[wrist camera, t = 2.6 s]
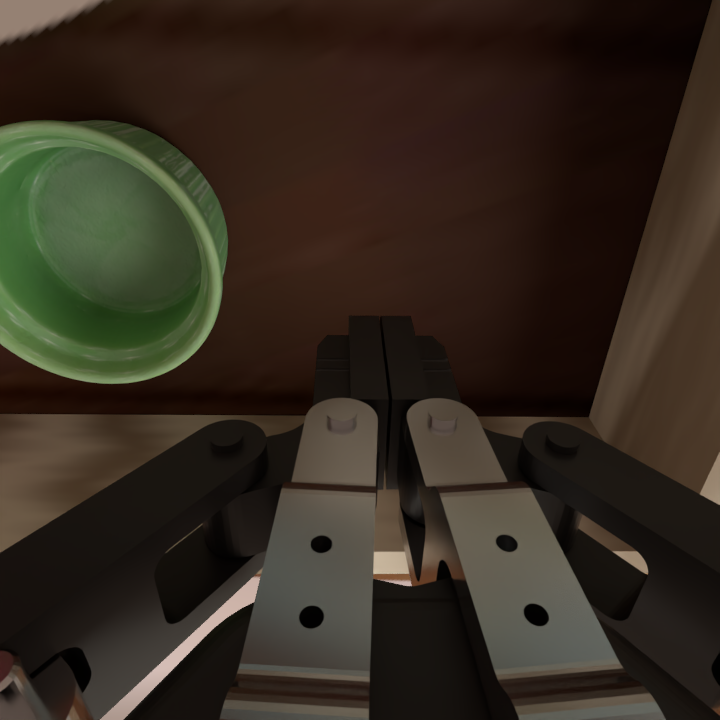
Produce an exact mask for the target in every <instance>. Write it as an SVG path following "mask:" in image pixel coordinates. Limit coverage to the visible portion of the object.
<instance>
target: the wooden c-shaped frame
mask: <svg viewBox="0 0 720 720" xmlns="http://www.w3.org/2000/svg"><path fill="white" fill-rule="evenodd" d="M305 418H306V416H284V415H101V414H0V552H2V551H4V550H5V549H7V548H8V547H10V546H12V545H13V544H15V543H17V542H18V541H20V540H21V539H23V538H25V537H26V536H28V535H30V534H31V533H33V532H34V531H36V530H38V529H39V528H41V527H43V526H44V525H46V524H47V523H49V522H51V521H52V520H54V519H55V518H57V517H59V516H60V515H62V514H64V513H65V512H67V511H68V510H70V509H72V508H73V507H75V506H77V505H78V504H80V503H81V502H83V501H85V500H86V499H88V498H90V497H91V496H93V495H94V494H96V493H98V492H99V491H101V490H102V489H104V488H106V487H107V486H109V485H111V484H112V483H114V482H115V481H117V480H119V479H120V478H122V477H124V476H125V475H127V474H128V473H130V472H132V471H133V470H135V469H137V468H138V467H140V466H141V465H143V464H145V463H146V462H148V461H149V460H151V459H153V458H154V457H156V456H158V455H159V454H161V453H162V452H164V451H166V450H167V449H169V448H171V447H172V446H174V445H175V444H177V443H179V442H180V441H182V440H184V439H185V438H187V437H188V436H190V435H192V434H193V433H195V432H196V431H198V430H200V429H201V428H203V427H205V426H207V425H209V424H212V423H215V422H218V421H223V420H232V419H234V420H245V421H248V422H252V423H254V424H256V425H257V426H259V427H260V428H261V429H262V430H263V431H264V433H265V435H266V437H268V436H272V435H277V434H281V433H285V432H288V431H290V430H293V429H295V428H297V427H299V426H300V425H302V424H303V423H304V422H305ZM478 419H479V422H480V424H481V426H482V427H483V428H485V429H487V430H490V431H493V432H496V433H500V434H504V435H509V436H514V437H518V438H522V437H523V433H524V431H525V430H526V428H528V427H529V426H530V425H532V424H534V423H538V422H543V421H556V422H562V423H566V424H570V425H573V426H575V427H578V428H580V429H582V430H584V431H586V432H587V433H589V434H591V435H593V436H595V437H596V438H598V439H600V440H602V441H604V442H606V443H607V444H609V445H611V446H613V447H615V448H617V449H618V450H620V451H622V452H624V453H626V454H627V455H629V456H631V457H633V458H635V459H637V460H638V461H640V462H642V463H644V464H646V465H647V466H649V467H651V468H653V469H655V470H657V471H658V472H660V473H662V474H664V475H666V476H668V477H669V478H671V479H673V480H675V481H677V482H678V483H680V484H682V485H684V486H686V487H688V488H689V489H691V490H693V491H695V492H697V493H698V494H700V495H702V496H704V497H706V498H708V499H709V500H711V501H713V502H715V503H717V504H719V505H720V0H712V3H711V6H710V10H709V13H708V16H707V20H706V23H705V27H704V30H703V33H702V37H701V40H700V43H699V47H698V50H697V54H696V57H695V60H694V64H693V67H692V70H691V74H690V77H689V81H688V84H687V87H686V91H685V94H684V97H683V101H682V104H681V108H680V111H679V114H678V118H677V121H676V124H675V128H674V131H673V135H672V138H671V141H670V145H669V148H668V151H667V155H666V158H665V162H664V165H663V168H662V172H661V175H660V178H659V182H658V185H657V189H656V192H655V195H654V199H653V202H652V205H651V209H650V212H649V216H648V219H647V222H646V226H645V229H644V232H643V236H642V239H641V243H640V246H639V249H638V253H637V256H636V259H635V263H634V266H633V270H632V273H631V276H630V280H629V283H628V286H627V290H626V293H625V297H624V300H623V303H622V307H621V310H620V313H619V317H618V320H617V324H616V327H615V330H614V334H613V337H612V340H611V344H610V347H609V351H608V354H607V357H606V361H605V364H604V367H603V371H602V374H601V378H600V381H599V384H598V388H597V391H596V394H595V398H594V401H593V405H592V408H591V411H590V415H589V417H478ZM399 501H400V498H399V490H398V489H386V479H385V471H384V487H383V490H378V492H377V506H376V510H375V534H374V564H373V574H409V570H408V565H407V560H406V555H405V550H404V546H403V541H402V536H401V531H400V527H399V522H398V513H399ZM201 525H202V524H201ZM201 525H200V526H201ZM200 526H199V527H200ZM199 527H197V528H199ZM197 528H196V529H197ZM578 528H579V529H580V530H582V531H583V532H584V533H586V534H587V535H589V536H590V537H592V538H593V539H595V540H596V541H598V542H599V543H601V544H602V545H603V546H605V547H606V548H608V549H609V550H611V551H612V552H614V553H615V554H617V555H618V556H620V557H621V558H622V559H624V560H625V561H627V562H628V563H630V564H631V565H633V566H634V567H636V568H637V569H639V570H640V571H641V572H643V573H648V567H647V564H646V562H645V560H644V559H643V557H642V556H641V555H640V554H639V553H638V552H637V551H636V550H635V549H634V548H632V547H631V546H629V545H628V544H626V543H625V542H623V541H622V540H620V539H619V538H617V537H616V536H614V535H613V534H611V533H610V532H608V531H607V530H605V529H604V528H602V527H601V526H599V525H598V524H596V523H595V522H593V521H592V520H590V519H589V518H587V517H586V516H584V515H582V518H581V521H580V524H579V527H578ZM196 529H195V530H196ZM195 530H193V531H195ZM193 531H192V532H193ZM192 532H191V533H192ZM191 533H189V534H191ZM189 534H188V535H189ZM188 535H187V536H188ZM187 536H186V537H187ZM186 537H184V538H186ZM184 538H183V539H184ZM183 539H182V540H183ZM182 540H180V541H182ZM180 541H179V542H180ZM179 542H178V543H179ZM178 543H176V544H175V545H177V544H178ZM175 545H174V546H175ZM174 546H173V547H174ZM173 547H171V548H173ZM171 548H170V549H171ZM170 549H169V550H170ZM169 550H168V551H169ZM262 569H263V568H262ZM262 569H261V570H260V571H259V572H258V573H256V574H261V573H262Z"/></svg>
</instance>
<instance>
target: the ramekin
mask: <svg viewBox="0 0 720 720" xmlns="http://www.w3.org/2000/svg"><path fill="white" fill-rule="evenodd" d="M227 247H228V236H227V227H226V223H225V219H224V215H223V211H222V209H221V206H220V203H219V201H218V199H217V197H216V195H215V193H214V191H213V189H212V187H211V186H210V184H209V183H208V182H207V180H206V179H205V177H204V176H203V174H202V173H201V172H200V170H199V169H198V168H197V167H196V166H195V165H194V164H193V163H192V161H191V160H190V159H188V158H187V157H186V156H185V155H184V154H183V153H181V152H180V151H179V150H178V149H177V148H176V147H174V146H173V145H171V144H170V143H168V142H167V141H165V140H164V139H162V138H161V137H159V136H157V135H156V134H154V133H151V132H149V131H147V130H145V129H142V128H139V127H136V126H133V125H130V124H127V123H121V122H116V121H105V120H90V121H76V122H67V121H55V120H35V121H25V122H18V123H13V124H8V125H5V126H1V127H0V344H1V345H3V346H4V347H5V348H7V349H8V350H10V351H11V352H13V353H14V354H16V355H17V356H19V357H21V358H22V359H24V360H26V361H28V362H29V363H32V364H34V365H35V366H37V367H40V368H42V369H44V370H47V371H49V372H52V373H55V374H58V375H60V376H64V377H67V378H71V379H75V380H80V381H85V382H92V383H103V384H120V383H132V382H138V381H143V380H147V379H150V378H153V377H156V376H159V375H162V374H164V373H166V372H168V371H170V370H172V369H174V368H176V367H177V366H179V365H180V364H182V363H183V362H184V361H186V360H187V359H188V358H189V357H191V356H192V355H193V354H194V353H195V352H196V351H197V350H198V349H199V347H200V346H201V345H202V344H203V343H204V341H205V340H206V338H207V337H208V335H209V333H210V332H211V330H212V328H213V326H214V323H215V321H216V318H217V315H218V311H219V308H220V303H221V298H222V289H223V274H224V271H225V265H226V260H227Z"/></svg>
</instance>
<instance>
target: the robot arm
mask: <svg viewBox="0 0 720 720" xmlns="http://www.w3.org/2000/svg"><path fill="white" fill-rule="evenodd" d="M384 471H385V479H386V489H398V490H399V498H400V501H399V513H398V522H399V527H400V531H401V536H402V541H403V546H404V550H405V555H406V560H407V565H408V570H409V574H410V579H411V584H412V586H403V585H399V584H394V583H389V582H385V581H381V580H376V579H373V564H374V534H375V510H376V506H377V492H378V490H383V487H384ZM582 515H584V516H586V517H587V518H589V519H590V520H592V521H593V522H595V523H596V524H598V525H599V526H601V527H602V528H604V529H605V530H607V531H608V532H610V533H611V534H613V535H614V536H616V537H617V538H619V539H620V540H622V541H623V542H625V543H626V544H628V545H629V546H631V547H632V548H634V549H635V550H636V551H637V552H638V553H639V554H640V555H641V556H642V557H643V559H644V560H645V562H646V564H647V567H648V575H647V574H645V573H643V572H641V571H640V570H639V569H637V568H636V567H634V566H633V565H631V564H630V563H628V562H627V561H625V560H624V559H622V558H621V557H620V556H618V555H617V554H615V553H614V552H612V551H611V550H609V549H608V548H606V547H605V546H603V545H602V544H601V543H599V542H598V541H596V540H595V539H593V538H592V537H590V536H589V535H587V534H586V533H584V532H583V531H582V530H580V529H579V528H578V527H579V524H580V521H581V518H582ZM201 524H202V525H201ZM200 525H201V526H200ZM199 526H200V527H199ZM197 527H199V528H197ZM196 528H197V529H196ZM195 529H196V530H195ZM193 530H195V531H193ZM192 531H193V532H192ZM191 532H192V533H191ZM189 533H191V534H189ZM188 534H189V535H188ZM187 535H188V536H187ZM186 536H187V537H186ZM184 537H186V538H184ZM183 538H184V539H183ZM182 539H183V540H182ZM180 540H182V541H180ZM179 541H180V542H179ZM178 542H179V543H178ZM176 543H178V544H177V545H175V544H176ZM174 545H175V546H174ZM173 546H174V547H173ZM171 547H173V548H171ZM170 548H171V549H170ZM169 549H170V550H169ZM168 550H169V551H168ZM262 568H263V569H262ZM261 569H262V573H261V577H260V582H259V586H258V590H257V594H256V599H255V602H254V603H252V604H250V605H248V606H246V607H244V608H242V609H240V610H239V611H237V612H235V613H234V614H233V615H231V616H229V617H228V618H226V619H225V620H224V621H223V622H221V623H220V624H219V625H218V626H216V627H215V628H214V629H213V630H212V631H211V632H210V633H209V634H208V635H207V636H206V637H205V638H204V639H203V640H202V641H201V642H200V643H199V644H198V645H197V646H196V647H195V648H194V649H193V650H192V651H191V652H190V653H189V654H188V655H187V656H186V657H185V658H184V659H183V660H182V661H181V662H180V663H179V664H178V665H177V666H176V667H175V668H174V669H173V670H172V671H171V672H170V673H169V674H168V675H167V676H166V677H165V678H164V679H163V680H162V681H161V682H160V683H159V684H158V685H157V686H156V687H155V688H154V689H153V690H152V691H151V692H150V693H149V694H148V695H147V696H146V697H145V698H144V700H142V701H141V702H140V703H139V704H138V706H136V708H135V709H134V710H133V711H132V712H131V713H130V714H129V715H128V716H127V717H126V718H125V719H124V720H720V505H719V504H717V503H715V502H713V501H711V500H709V499H708V498H706V497H704V496H702V495H700V494H698V493H697V492H695V491H693V490H691V489H689V488H688V487H686V486H684V485H682V484H680V483H678V482H677V481H675V480H673V479H671V478H669V477H668V476H666V475H664V474H662V473H660V472H658V471H657V470H655V469H653V468H651V467H649V466H647V465H646V464H644V463H642V462H640V461H638V460H637V459H635V458H633V457H631V456H629V455H627V454H626V453H624V452H622V451H620V450H618V449H617V448H615V447H613V446H611V445H609V444H607V443H606V442H604V441H602V440H600V439H598V438H596V437H595V436H593V435H591V434H589V433H587V432H586V431H584V430H582V429H580V428H578V427H575V426H573V425H570V424H566V423H562V422H556V421H543V422H538V423H534V424H532V425H530V426H529V427H528V428H526V430H525V431H524V433H523V437H522V438H518V437H514V436H509V435H504V434H500V433H496V432H493V431H490V430H487V429H485V428H483V427H482V426H481V424H480V422H479V419H478V417H477V416H476V414H475V413H474V412H473V411H472V410H471V409H470V408H469V407H467V406H465V405H464V404H462V402H461V399H460V396H459V393H458V389H457V386H456V383H455V380H454V377H453V374H452V372H451V367H450V364H449V361H448V358H447V355H446V352H445V349H444V346H443V345H441V344H440V343H439V342H438V341H437V340H436V339H435V338H434V337H433V336H415V332H414V328H413V324H412V320H411V316H381V317H380V323H379V316H349V335H327V336H326V337H325V338H324V339H323V341H322V342H321V343H320V344H319V345H318V348H317V361H316V373H315V385H314V397H313V407H312V408H311V409H310V410H309V411H308V413H307V415H306V418H305V422H304V423H303V424H302V425H300V426H299V427H297V428H295V429H293V430H290V431H288V432H285V433H281V434H277V435H272V436H268V437H266V435H265V433H264V431H263V430H262V429H261V428H260V427H259V426H257V425H256V424H254V423H252V422H248V421H245V420H234V419H232V420H223V421H218V422H215V423H212V424H209V425H207V426H205V427H203V428H201V429H200V430H198V431H196V432H195V433H193V434H192V435H190V436H188V437H187V438H185V439H184V440H182V441H180V442H179V443H177V444H175V445H174V446H172V447H171V448H169V449H167V450H166V451H164V452H162V453H161V454H159V455H158V456H156V457H154V458H153V459H151V460H149V461H148V462H146V463H145V464H143V465H141V466H140V467H138V468H137V469H135V470H133V471H132V472H130V473H128V474H127V475H125V476H124V477H122V478H120V479H119V480H117V481H115V482H114V483H112V484H111V485H109V486H107V487H106V488H104V489H102V490H101V491H99V492H98V493H96V494H94V495H93V496H91V497H90V498H88V499H86V500H85V501H83V502H81V503H80V504H78V505H77V506H75V507H73V508H72V509H70V510H68V511H67V512H65V513H64V514H62V515H60V516H59V517H57V518H55V519H54V520H52V521H51V522H49V523H47V524H46V525H44V526H43V527H41V528H39V529H38V530H36V531H34V532H33V533H31V534H30V535H28V536H26V537H25V538H23V539H21V540H20V541H18V542H17V543H15V544H13V545H12V546H10V547H8V548H7V549H5V550H4V551H2V552H0V720H100V719H101V718H102V717H103V716H104V715H105V714H106V713H107V712H108V711H109V710H110V709H111V708H112V707H114V706H115V705H116V704H117V703H118V702H119V701H120V700H121V699H122V698H123V697H124V696H125V695H127V694H128V693H129V692H130V691H131V690H132V689H133V688H134V687H135V686H136V685H137V684H138V683H139V682H141V681H142V680H143V679H144V678H145V677H146V676H147V675H148V674H149V673H150V672H151V671H152V670H153V669H154V668H155V667H157V665H159V664H160V663H161V662H162V661H163V660H164V659H165V658H166V657H167V656H168V655H169V654H170V653H172V652H173V651H174V650H175V649H176V648H177V647H178V646H179V645H180V644H181V643H182V642H183V641H185V640H186V639H187V638H188V637H189V636H190V635H191V634H192V633H193V632H194V631H195V630H196V629H197V628H198V627H200V626H201V625H202V624H203V623H204V622H205V621H206V620H207V619H208V618H209V617H210V616H211V615H212V614H214V613H215V612H216V611H217V610H218V609H219V608H220V607H221V606H222V605H223V604H224V603H225V602H226V601H227V600H229V598H231V597H232V596H233V595H234V594H235V593H236V592H237V591H238V590H239V589H240V588H241V587H243V585H245V584H246V583H247V582H248V581H249V580H250V579H251V578H252V577H253V576H254V575H255V574H256V573H258V572H259V571H260V570H261Z"/></svg>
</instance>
